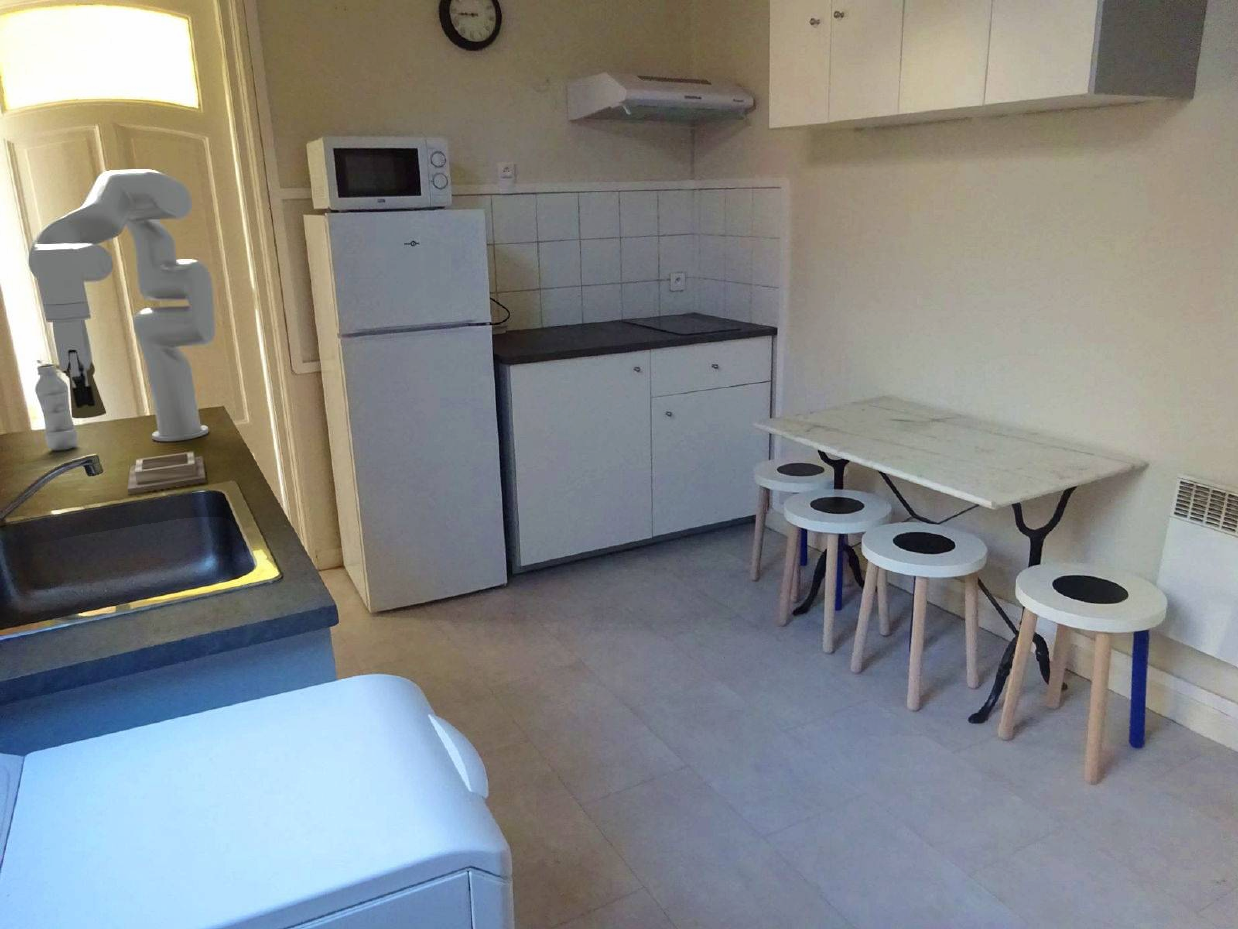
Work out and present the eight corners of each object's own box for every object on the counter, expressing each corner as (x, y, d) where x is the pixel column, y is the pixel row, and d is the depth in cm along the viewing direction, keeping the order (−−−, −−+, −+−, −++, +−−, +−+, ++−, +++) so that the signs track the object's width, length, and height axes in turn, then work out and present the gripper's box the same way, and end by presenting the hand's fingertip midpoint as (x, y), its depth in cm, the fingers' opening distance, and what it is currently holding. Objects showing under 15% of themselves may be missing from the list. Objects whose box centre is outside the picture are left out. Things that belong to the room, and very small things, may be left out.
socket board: (131, 471, 188) (128, 456, 187) (202, 461, 194) (200, 446, 193) (128, 494, 172) (125, 478, 171) (206, 483, 178) (203, 467, 177)
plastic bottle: (41, 452, 205) (22, 368, 200) (68, 444, 211) (50, 362, 206) (60, 454, 203) (41, 369, 197) (87, 446, 209) (69, 364, 203)
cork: (113, 411, 177) (102, 358, 174) (86, 419, 172) (74, 363, 168) (91, 410, 179) (80, 357, 176) (64, 417, 174) (52, 362, 170)
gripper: (50, 309, 175) (70, 398, 180) (38, 318, 160) (60, 415, 166) (93, 306, 178) (111, 394, 183) (85, 315, 163) (105, 410, 169)
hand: (87, 403), depth 175 cm, fingers closed on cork, 4 cm apart
